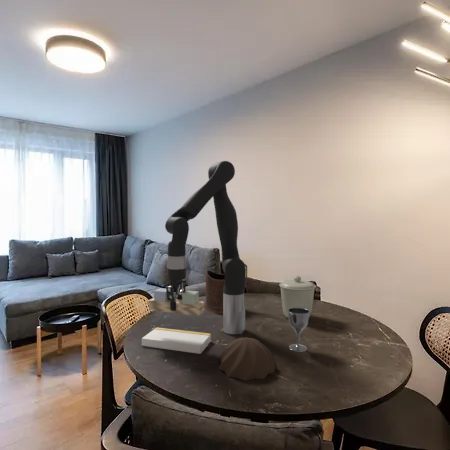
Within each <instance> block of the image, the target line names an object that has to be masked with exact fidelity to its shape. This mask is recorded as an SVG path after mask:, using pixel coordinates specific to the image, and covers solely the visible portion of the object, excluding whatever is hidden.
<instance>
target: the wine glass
mask: <svg viewBox="0 0 450 450" xmlns="http://www.w3.org/2000/svg"><path fill="white" fill-rule="evenodd" d="M288 317H289V318H288V321H289V325H290V326H291V327H292V329H293V330H294V332H295V334H296V339H297V340H296V343H294V344H292V343H291V344H290V345H289V346H288V349H289V350H291V351H294V352H298V353H301V352H302V353H303V352H306V351H307V350H308V348H307V346H306V345H304V344H301V343H300V338H301V336H300V335H301V334H302V332H303V330H304V329H305V328H307V326H308V323H309V319H310V317H309V310H307V309H305V308H299V307H294V308H290V309H289V310H288Z"/></svg>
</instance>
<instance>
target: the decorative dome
mask: <svg viewBox="0 0 450 450" xmlns="http://www.w3.org/2000/svg"><path fill="white" fill-rule="evenodd" d="M219 357H220V362H221V363H220V365H219V367H218V369H219V370H220V371H223V372H225V374H226V376H227V377H229V378H238V379H240V380H243V381H245V382H246V381H251V380H254V379H255V380H257V379H258V380H259V379H260V380H263V379H265V378H266V377H267V376H268V375H270V374H272V373H275V371H276V369H275V368H276V367H275V366H276V365H275V364H276V363H275V359H274V356H273V354H272V352H271V351H270V349H269V348H268V347H267V346H266V345H265V344H263V343H262V342H261V341H259V340H257V339H255V338H252V337H247V336H246V337H239V338H237V339H233V340H232V341H230V342H229V343H227V345H226V348H225V349H224V350H222V352H221V353H220V355H219Z"/></svg>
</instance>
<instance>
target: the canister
mask: <svg viewBox="0 0 450 450" xmlns="http://www.w3.org/2000/svg"><path fill="white" fill-rule="evenodd" d="M278 286H279V287H280V294H281V295H280V297H281V306H282V313H283V316H285V317H286V318H287V319H289V317H288V310H289V309H290V308H294V307H299V308H305V309H307V310H309V318H310V317H311V316H312V312H313V311H312V310H313V305H314V304H313V303H314V295H315V289H316V288H317V286H316V285H315V284H314V283H313V282H311V281H309V280H304V279H302V278H301V276H300V275H295V276H294V277H293V279H286V280H283V281H281V282H280V283H279V284H278Z"/></svg>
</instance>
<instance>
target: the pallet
mask: <svg viewBox="0 0 450 450" xmlns="http://www.w3.org/2000/svg"><path fill="white" fill-rule="evenodd" d="M204 306H205V301H203V300H202V301H200V300H199V302H197V303H196V304H195V305H191V304H182V299H177V298H176V310H175V311H171V310H170V301H166V302H161V301H154V297H152V298H150V299H148V311H152V312H162V313H169V314H171V313H173V314H180V315H189V316H190V315H191V316H196V317H197V316H199V317H200V316H201V315H202V314H203V313H204V312H205V310H204Z"/></svg>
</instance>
